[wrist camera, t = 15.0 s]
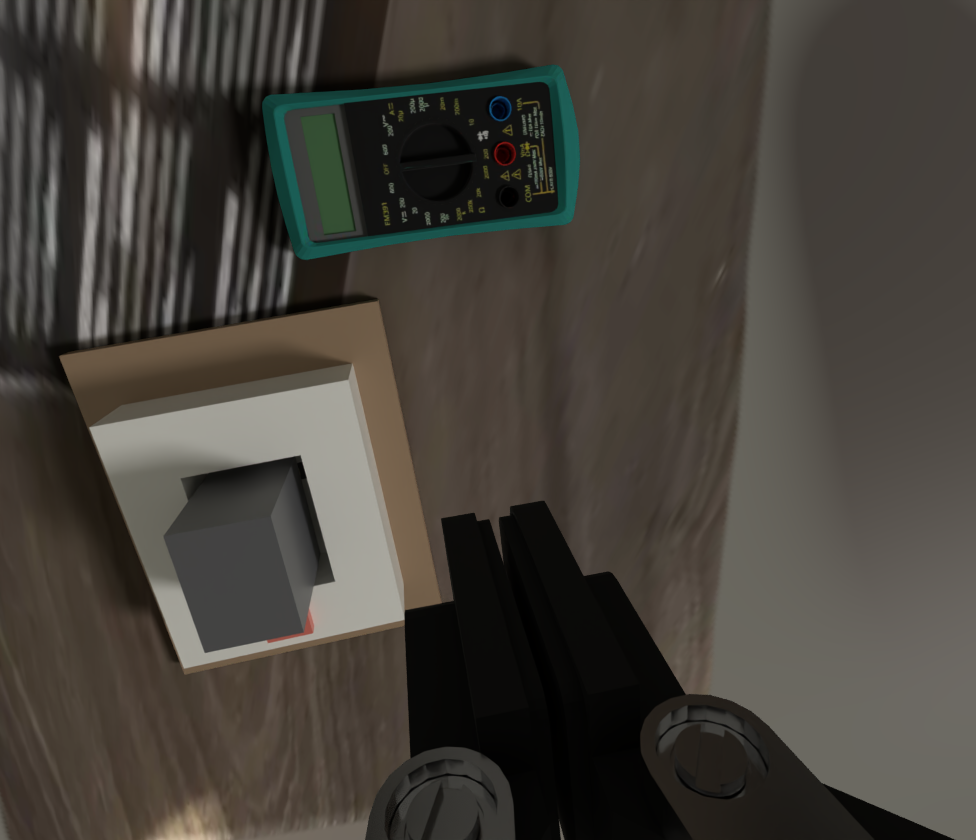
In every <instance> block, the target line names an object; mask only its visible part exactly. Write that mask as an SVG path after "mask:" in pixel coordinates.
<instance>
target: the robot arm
mask: <svg viewBox="0 0 976 840" xmlns="http://www.w3.org/2000/svg"><path fill="white" fill-rule="evenodd" d="M441 522H442V528H443V535H444V541H445V547H446V554H447V560H448V567H449V573H450V579H451V586H452V592H453V599H454V601H451V602H445V603H440V604H435V605H430V606H424V607H419V608H414V609H408V610H405V612H404V621H405V643H406V666H407V688H408V711H409V733H410V756H411V759H409V760H407V761H405V762H404V763H403V764H402V765H401V766H400V767H398V768H397V769H396V770H395V771H394V772H393V773H392V774H390V775H389V777H388V778H387V780H386V781H385V783H384V784H383V785H382V787H381V788H380V790H379V791H378V793H377V795H376V798H375V801H374V803H373V806H372V809H371V812H370V816H369V821H368V827H367V832H366V838H365V840H561V837H560V826H559V821H560V825H561V828H562V832H563V835H564V839H565V840H954V839H952V838H950V837H947V836H945V835H943V834H940V833H938V832H936V831H933V830H931V829H928V828H926V827H924V826H921V825H919V824H917V823H914V822H912V821H910V820H907V819H905V818H902V817H900V816H898V815H896V814H893V813H891V812H889V811H886V810H884V809H882V808H879V807H877V806H874V805H872V804H869V803H867V802H865V801H863V800H860V799H858V798H856V797H853V796H851V795H849V794H846V793H844V792H842V791H839V790H837V789H834V788H832V787H830V786H827V785H825V784H823V783H821V782H820V781H819V780H818V779H817V777H816V776H815V775H814V774H813V773H812V772H811V771H810V770H809V769H808V768H807V767H806V766H805V765H804V763H803V762H802V761H801V760H800V759H799V758H798V757H797V756H796V755H795V754H794V753H793V752H792V751H791V750H790V749H789V747H788V746H786V744H785V743H784V742H783V741H782V740H781V739H780V738H779V737H778V736H777V734H776V733H775V732H774V731H773V730H772V729H771V728H770V727H769V726H768V725H767V724H766V723H765V722H763V721H762V720H761V719H760V718H759V717H758V716H756V715H755V714H754V713H753V712H752V711H750V710H748V709H746V708H744V707H742V706H740V705H738V704H737V703H735V702H733V701H730V700H727V699H723V698H719V697H716V696H712V695H698V694H688V695H686V694H685V692H684V691H683V689H682V687H681V686H680V684H679V682H678V681H677V679H676V677H675V676H674V674H673V672H672V671H671V669H670V667H669V666H668V664H667V662H666V661H665V659H664V657H663V656H662V654H661V652H660V651H659V649H658V647H657V646H656V644H655V642H654V641H653V639H652V637H651V636H650V634H649V632H648V631H647V629H646V627H645V626H644V624H643V622H642V621H641V619H640V617H639V616H638V614H637V612H636V611H635V609H634V607H633V606H632V604H631V602H630V601H629V599H628V597H627V596H626V594H625V592H624V591H623V589H622V587H621V586H620V584H619V582H618V581H617V579H616V578H615V576H614V575H613V574H612V573H611V572H603V573H598V574H593V575H587V576H583V574H582V572H581V570H580V568H579V566H578V564H577V562H576V560H575V559H574V557H573V555H572V553H571V551H570V549H569V547H568V545H567V543H566V541H565V539H564V537H563V535H562V533H561V531H560V530H559V528H558V526H557V524H556V522H555V520H554V518H553V516H552V514H551V512H550V510H549V508H548V506H547V504H546V503H545V501H538V502H533V503H527V504H521V505H515V506H511V507H510V516H504V517H499V527H500V535H501V544H502V553H503V561H504V564H503V561H502V558H501V555H500V551H499V548H498V545H497V542H496V539H495V536H494V533H493V529H492V526H491V523H490V520H489V519H487V520H482V521H477V520H476V516H475V513H470V514H464V515H458V516H453V517H447V518H441Z"/></svg>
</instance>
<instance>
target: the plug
mask: <svg viewBox="0 0 976 840" xmlns="http://www.w3.org/2000/svg"><path fill="white" fill-rule="evenodd" d="M300 475H301V474H300V471H299V468H298V465H297V461H296V457H295V456H293V457H288V458H283V459H278V460H273V461H268V462H262V463H257V464H252V465H247V466H242V467H237V468H231V469H226V470H221V471H216V472H211V473H208V475H207V476H206V477H205V479H204V480H203V481H202V483H201V484H200V486H199V487H198V488H197V490H196V491H195V493H194V494H193V495H192V497H191V498H190V500H189V501H188V502H187V504H186V505H185V507H184V508H183V509H182V511H181V512H180V514H179V515H178V516H177V518H176V519H175V521H174V522H173V523H172V525H171V526H170V527H169V529H168V530H167V532H166V533H165V534H164V536H163V537H164V540H165V543H166V546H167V548H168V551H169V554H170V557H171V560H172V563H173V565H174V568H175V571H176V574H177V577H178V579H179V582H180V585H181V588H182V591H183V594H184V596H185V599H186V602H187V605H188V608H189V610H190V613H191V616H192V619H193V622H194V625H195V627H196V630H197V633H198V636H199V639H200V641H201V644H202V647H203V650H204V653H208V652H213V651H218V650H222V649H227V648H232V647H237V646H242V645H247V644H251V643H256V642H261V641H266V640H271V639H276V638H280V637H285V636H290V635H295V634H300V633H304V630H305V625H306V620H307V615H308V611H309V606H310V601H311V596H312V592H313V587H314V582H315V577H316V573H317V568H318V563H319V559H320V554H321V553H320V549H319V545H318V542H317V538H316V534H315V530H314V526H313V522H312V518H311V515H310V511H309V507H308V503H307V499H306V495H305V492H304V488H303V484H302V480H301V476H300Z"/></svg>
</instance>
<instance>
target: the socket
mask: <svg viewBox="0 0 976 840" xmlns="http://www.w3.org/2000/svg"><path fill="white" fill-rule="evenodd" d="M59 357H60V360H61V362H62V365H63V367H64V370H65V372H66V375H67V378H68V380H69V383H70V385H71V388H72V390H73V393H74V395H75V398H76V400H77V403H78V405H79V408H80V410H81V413H82V416H83V418H84V421H85V423H86V426H87V428H88V431H89V433H90V436H91V438H92V441H93V443H94V446H95V448H96V451H97V454H98V456H99V459H100V461H101V464H102V466H103V469H104V471H105V474H106V476H107V479H108V481H109V484H110V486H111V489H112V492H113V494H114V497H115V499H116V502H117V504H118V507H119V509H120V512H121V514H122V517H123V519H124V522H125V524H126V527H127V530H128V532H129V535H130V537H131V540H132V542H133V545H134V547H135V550H136V552H137V555H138V557H139V560H140V562H141V565H142V568H143V570H144V573H145V575H146V578H147V580H148V583H149V585H150V588H151V590H152V593H153V595H154V598H155V601H156V603H157V606H158V608H159V611H160V613H161V616H162V618H163V621H164V623H165V626H166V628H167V631H168V633H169V636H170V639H171V641H172V644H173V646H174V649H175V651H176V654H177V656H178V659H179V661H180V664H181V666H182V669H183V671H184V674H190V673H194V672H199V671H203V670H207V669H212V668H216V667H221V666H225V665H230V664H234V663H239V662H243V661H248V660H252V659H257V658H261V657H266V656H270V655H275V654H279V653H284V652H288V651H293V650H297V649H302V648H306V647H311V646H315V645H320V644H324V643H329V642H333V641H338V640H342V639H347V638H351V637H356V636H360V635H365V634H369V633H374V632H378V631H383V630H387V629H392V628H396V627H401V626H405V621H404V612H405V610H408V609H414V608H419V607H424V606H430V605H435V604H440V603H442V600H441V596H440V591H439V586H438V581H437V576H436V572H435V567H434V562H433V557H432V553H431V548H430V543H429V538H428V533H427V529H426V524H425V519H424V514H423V509H422V505H421V500H420V495H419V490H418V486H417V481H416V476H415V471H414V466H413V462H412V457H411V452H410V447H409V442H408V438H407V433H406V428H405V423H404V419H403V414H402V409H401V404H400V399H399V395H398V390H397V385H396V380H395V375H394V371H393V366H392V361H391V356H390V352H389V347H388V342H387V337H386V332H385V328H384V323H383V318H382V313H381V308H380V304H379V299H374V300H368V301H362V302H357V303H351V304H345V305H339V306H333V307H327V308H322V309H316V310H310V311H304V312H298V313H293V314H287V315H281V316H275V317H269V318H264V319H258V320H252V321H246V322H240V323H234V324H229V325H223V326H217V327H211V328H205V329H200V330H194V331H188V332H182V333H176V334H170V335H165V336H159V337H153V338H147V339H141V340H136V341H130V342H124V343H118V344H112V345H106V346H101V347H95V348H89V349H83V350H77V351H72V352H68V353H65V354H63V355H60V356H59ZM293 456H295V457H296V461H297V465H298V468H299V471H300V474H301V475H300V476H301V480H302V484H303V488H304V492H305V495H306V499H307V503H308V507H309V511H310V515H311V518H312V522H313V526H314V530H315V534H316V538H317V542H318V545H319V549H320V553H321V554H320V559H319V563H318V568H317V573H316V577H315V582H314V587H313V592H312V596H311V601H310V606H309V611H308V615H307V620H306V625H305V630H304V633H300V634H295V635H290V636H285V637H280V638H276V639H271V640H266V641H261V642H256V643H251V644H247V645H242V646H237V647H232V648H227V649H222V650H218V651H213V652H208V653H204V650H203V647H202V644H201V641H200V639H199V636H198V633H197V630H196V627H195V625H194V622H193V619H192V616H191V613H190V610H189V608H188V605H187V602H186V599H185V596H184V594H183V591H182V588H181V585H180V582H179V579H178V577H177V574H176V571H175V568H174V565H173V563H172V560H171V557H170V554H169V551H168V548H167V546H166V543H165V540H164V537H163V536H164V534H165V533H166V532H167V530H168V529H169V527H170V526H171V525H172V523H173V522H174V521H175V519H176V518H177V516H178V515H179V514H180V512H181V511H182V509H183V508H184V507H185V505H186V504H187V502H188V501H189V500H190V498H191V497H192V495H193V494H194V493H195V491H196V490H197V488H198V487H199V486H200V484H201V483H202V481H203V480H204V479H205V477H206V476H207V475H208V473H211V472H216V471H221V470H226V469H231V468H237V467H242V466H247V465H252V464H257V463H262V462H268V461H273V460H278V459H283V458H288V457H293Z"/></svg>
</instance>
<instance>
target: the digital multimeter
mask: <svg viewBox="0 0 976 840" xmlns="http://www.w3.org/2000/svg"><path fill="white" fill-rule="evenodd" d="M532 82H533V83H532ZM523 83H524V84H523ZM514 84H515V85H514ZM505 85H506V86H505ZM262 110H263V117H264V125H265V132H266V139H267V145H268V151H269V157H270V162H271V168H272V173H273V177H274V182H275V186H276V191H277V195H278V199H279V203H280V206H281V210H282V213H283V217H284V220H285V224H286V227H287V230H288V234H289V237H290V240H291V243H292V246H293V250H294V252H295V254H296V256H298V257H299V258H301V259H306V260H308V259H313V258H319V257H324V256H330V255H335V254H341V253H346V252H352V251H357V250H363V249H368V248H374V247H379V246H385V245H391V244H398V243H405V242H411V241H418V240H425V239H432V238H438V237H445V236H452V235H462V234H471V233H480V232H490V231H499V230H509V229H519V228H531V227H543V226H555V225H565V224H568V223H570V222H571V220H572V219H573V215H574V209H575V203H576V196H577V189H578V179H579V166H580V151H579V135H578V128H577V123H576V118H575V114H574V109H573V104H572V101H571V97H570V94H569V90H568V87H567V83H566V80H565V76H564V73H563V70H562V69H561V68H560V67H559V66H558V65H547V66H541V67H535V68H529V69H523V70H517V71H511V72H505V73H499V74H492V75H485V76H478V77H471V78H464V79H457V80H449V81H442V82H435V83H427V84H416V85H405V86H395V87H384V88H373V89H362V90H347V91H329V92H311V93H293V94H275V95H269V96H267V97H265V99H264V101H263V102H262ZM551 110H552V113H551ZM429 118H430V119H429ZM415 123H416V124H415ZM552 123H553V125H552ZM553 136H554V138H553ZM470 140H471V141H470ZM399 142H400V143H399ZM471 142H472V143H471ZM554 149H555V151H554ZM555 162H556V164H555ZM396 166H397V167H396ZM556 174H557V177H556ZM472 181H473V182H472ZM468 188H469V189H468ZM557 188H558V190H557ZM412 195H413V196H412ZM450 202H451V203H450ZM427 203H428V204H427ZM442 204H443V205H442ZM548 212H549V213H548ZM540 213H542V214H540ZM533 214H534V215H533ZM525 215H527V216H525ZM518 216H519V217H518ZM510 217H512V218H510ZM503 218H504V219H503ZM495 219H496V220H495ZM306 225H307V226H306ZM307 230H308V231H307ZM308 235H309V237H308Z"/></svg>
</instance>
